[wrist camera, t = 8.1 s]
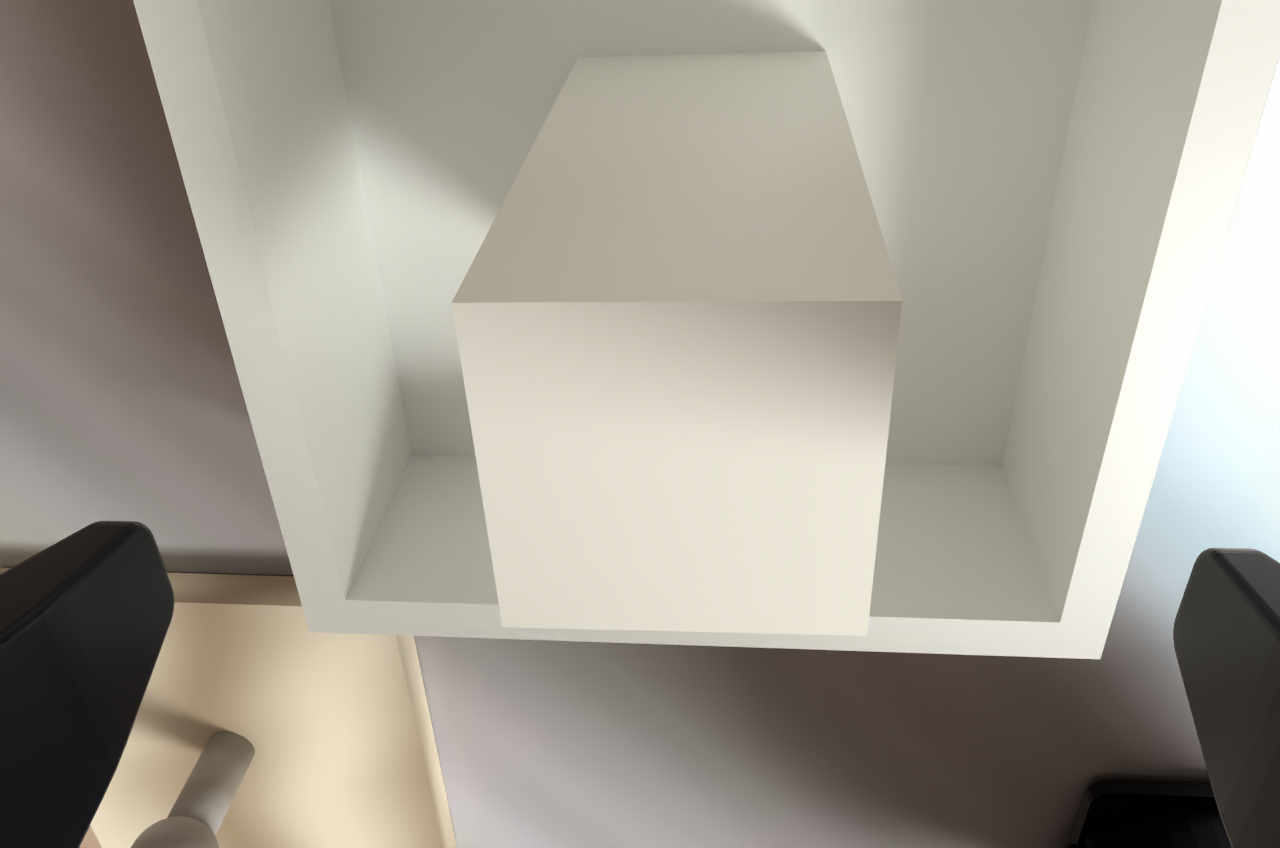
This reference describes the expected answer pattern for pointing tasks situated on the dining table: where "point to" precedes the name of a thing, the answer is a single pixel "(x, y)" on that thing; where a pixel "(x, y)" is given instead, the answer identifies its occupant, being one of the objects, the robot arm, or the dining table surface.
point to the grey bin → (908, 218)
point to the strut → (684, 354)
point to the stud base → (275, 733)
